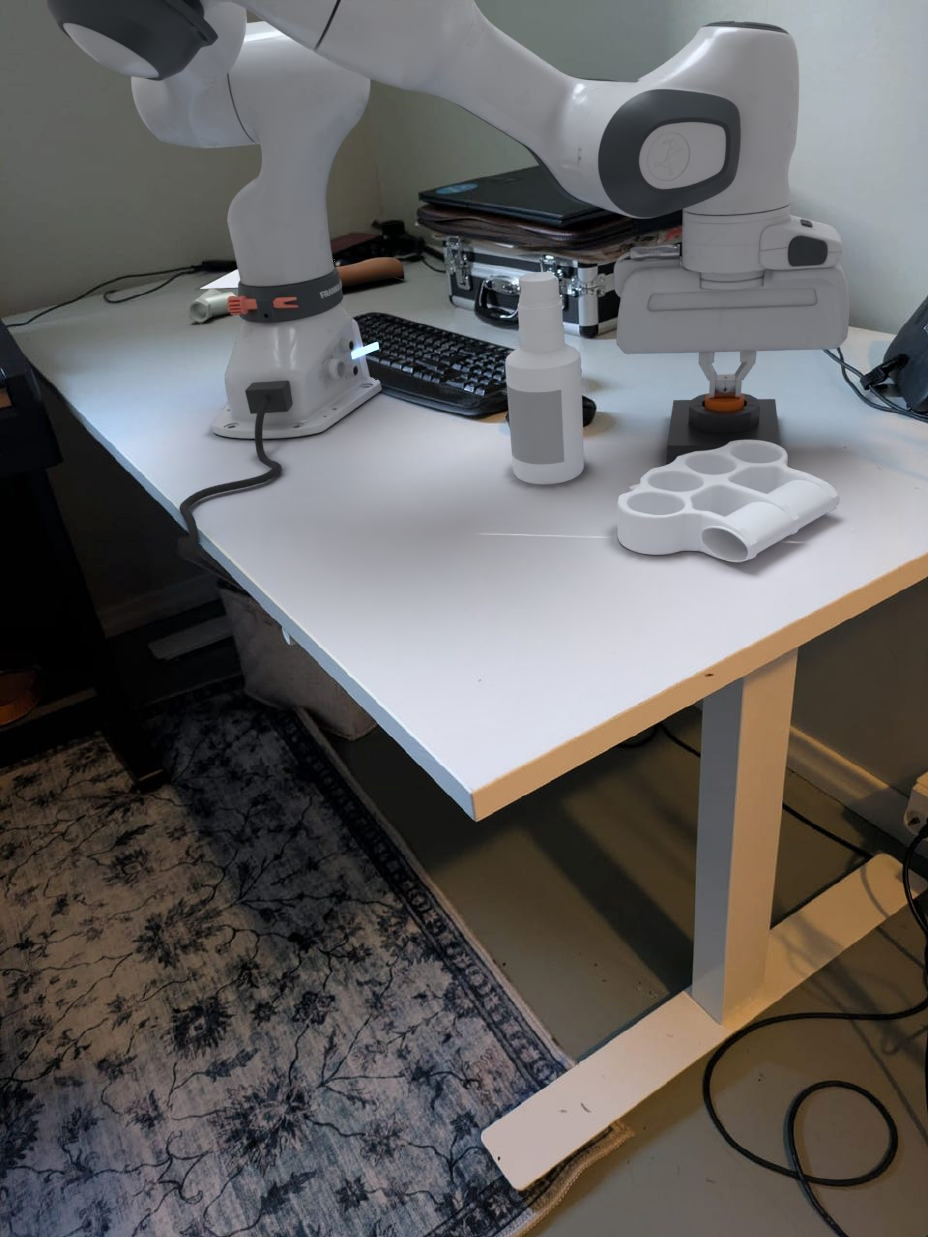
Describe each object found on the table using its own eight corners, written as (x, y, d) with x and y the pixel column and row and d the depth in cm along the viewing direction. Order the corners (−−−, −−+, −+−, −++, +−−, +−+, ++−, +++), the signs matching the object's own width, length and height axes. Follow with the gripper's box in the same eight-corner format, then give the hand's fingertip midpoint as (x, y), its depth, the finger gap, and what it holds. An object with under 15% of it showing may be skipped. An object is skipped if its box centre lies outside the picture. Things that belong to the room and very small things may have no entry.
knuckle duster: (720, 589, 67) (579, 528, 77) (859, 505, 76) (716, 460, 86) (722, 549, 65) (578, 492, 75) (865, 468, 74) (718, 426, 84)
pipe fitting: (244, 310, 156) (206, 310, 157) (241, 287, 154) (202, 287, 155) (230, 323, 150) (190, 323, 150) (226, 299, 147) (185, 299, 148)
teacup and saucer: (246, 281, 174) (241, 259, 172) (264, 271, 181) (259, 249, 178) (287, 279, 172) (283, 257, 170) (304, 269, 178) (300, 247, 176)
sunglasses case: (388, 270, 167) (390, 240, 162) (403, 296, 165) (406, 266, 159) (294, 290, 162) (293, 259, 156) (308, 317, 159) (307, 286, 153)
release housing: (778, 468, 83) (782, 426, 81) (666, 467, 86) (667, 427, 84) (773, 419, 93) (776, 381, 91) (672, 419, 95) (673, 382, 93)
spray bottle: (509, 461, 90) (494, 272, 81) (577, 453, 91) (571, 263, 81) (517, 489, 85) (503, 290, 75) (590, 481, 85) (585, 280, 75)
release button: (743, 420, 86) (744, 402, 85) (703, 420, 87) (704, 403, 86) (743, 406, 89) (744, 389, 88) (704, 407, 90) (705, 389, 89)
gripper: (609, 255, 79) (611, 408, 87) (862, 243, 74) (841, 406, 82) (616, 240, 84) (617, 386, 92) (854, 227, 79) (834, 382, 87)
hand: (724, 395), depth 87 cm, fingers closed, pressing on release button
